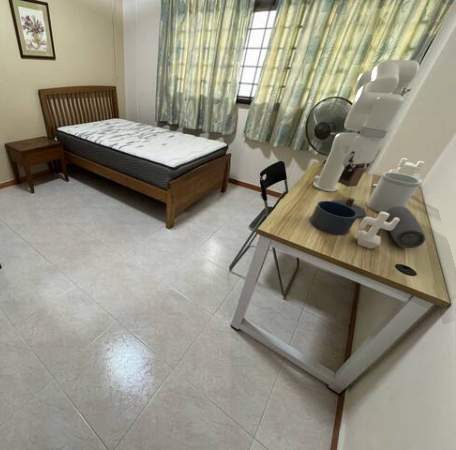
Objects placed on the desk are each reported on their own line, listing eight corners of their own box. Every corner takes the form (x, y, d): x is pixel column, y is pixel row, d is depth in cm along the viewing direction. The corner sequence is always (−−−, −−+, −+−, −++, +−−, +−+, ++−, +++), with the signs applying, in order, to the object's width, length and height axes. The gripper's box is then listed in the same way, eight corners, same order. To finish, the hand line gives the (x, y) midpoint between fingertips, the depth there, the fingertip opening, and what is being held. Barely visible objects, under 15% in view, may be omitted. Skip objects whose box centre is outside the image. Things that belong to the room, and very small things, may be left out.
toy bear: (337, 181, 102) (350, 154, 95) (345, 181, 103) (359, 153, 96) (347, 186, 98) (362, 158, 91) (356, 186, 99) (371, 157, 92)
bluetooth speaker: (377, 220, 115) (389, 202, 109) (402, 226, 111) (416, 208, 106) (387, 245, 98) (401, 225, 93) (416, 253, 95) (433, 233, 89)
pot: (302, 218, 115) (309, 202, 110) (328, 214, 118) (336, 199, 113) (329, 236, 102) (338, 220, 98) (356, 232, 106) (366, 216, 101)
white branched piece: (412, 192, 143) (435, 160, 132) (413, 200, 134) (437, 166, 123) (373, 183, 153) (391, 152, 142) (371, 190, 144) (390, 157, 133)
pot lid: (320, 203, 127) (325, 193, 124) (343, 201, 131) (349, 190, 128) (347, 220, 114) (353, 208, 111) (372, 216, 118) (379, 205, 115)
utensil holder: (362, 208, 125) (381, 176, 115) (366, 199, 134) (384, 169, 124) (399, 219, 117) (423, 186, 107) (400, 208, 126) (422, 177, 116)
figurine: (351, 235, 104) (370, 205, 95) (379, 244, 99) (401, 213, 90) (350, 243, 99) (369, 212, 91) (378, 253, 94) (401, 221, 86)
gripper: (380, 130, 94) (356, 174, 104) (346, 131, 90) (325, 176, 100) (400, 135, 88) (373, 181, 98) (365, 136, 84) (340, 184, 94)
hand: (349, 178), depth 99 cm, fingers closed on toy bear, 4 cm apart
